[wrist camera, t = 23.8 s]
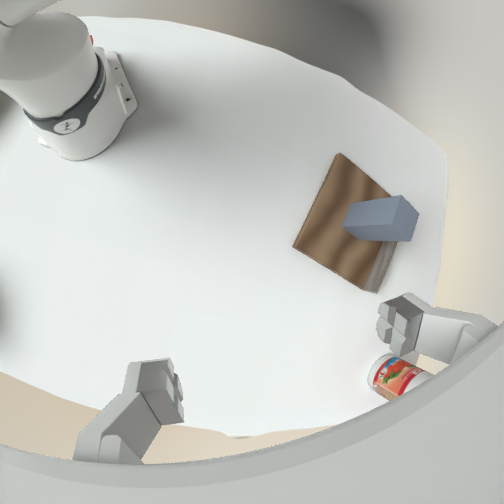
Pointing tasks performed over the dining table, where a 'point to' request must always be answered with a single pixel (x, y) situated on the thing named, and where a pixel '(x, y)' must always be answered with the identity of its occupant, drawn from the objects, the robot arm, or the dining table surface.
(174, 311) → the dining table surface
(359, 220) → the carton
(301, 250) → the shelf board
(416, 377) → the fruit juice
